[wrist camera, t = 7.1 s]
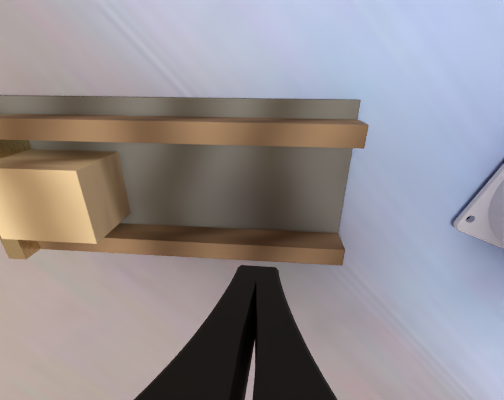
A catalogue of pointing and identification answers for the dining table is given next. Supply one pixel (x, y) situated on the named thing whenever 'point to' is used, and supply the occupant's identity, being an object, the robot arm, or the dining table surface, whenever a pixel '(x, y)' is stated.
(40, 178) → the block
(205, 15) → the dining table surface
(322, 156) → the channel
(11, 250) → the end stop
